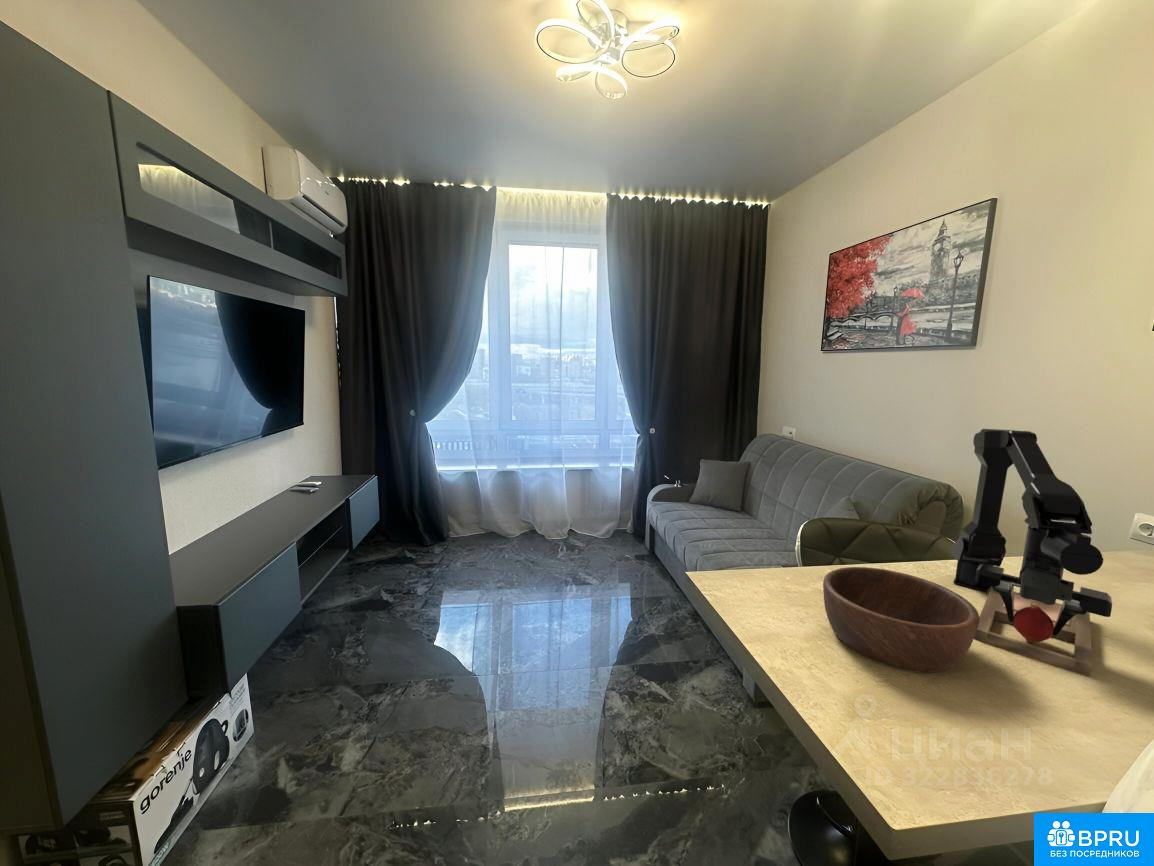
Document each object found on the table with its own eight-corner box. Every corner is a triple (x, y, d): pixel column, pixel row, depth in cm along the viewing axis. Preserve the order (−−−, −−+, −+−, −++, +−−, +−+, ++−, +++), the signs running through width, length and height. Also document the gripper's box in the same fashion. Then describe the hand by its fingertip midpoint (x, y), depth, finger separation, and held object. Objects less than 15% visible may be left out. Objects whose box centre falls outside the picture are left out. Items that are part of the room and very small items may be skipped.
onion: (1040, 637, 95) (1046, 599, 94) (1058, 653, 90) (1065, 614, 89) (1004, 631, 97) (1010, 594, 96) (1020, 646, 92) (1026, 608, 90)
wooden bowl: (841, 598, 110) (845, 556, 109) (980, 643, 93) (987, 594, 91) (800, 640, 93) (804, 591, 91) (961, 706, 75) (970, 646, 74)
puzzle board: (973, 638, 94) (974, 627, 94) (990, 593, 113) (992, 584, 113) (1090, 676, 83) (1092, 664, 83) (1088, 620, 102) (1089, 610, 102)
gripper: (975, 549, 92) (965, 624, 94) (1120, 582, 79) (1104, 668, 81) (983, 536, 100) (973, 605, 102) (1116, 564, 86) (1101, 642, 88)
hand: (1032, 628), depth 93 cm, fingers closed on onion, 6 cm apart
